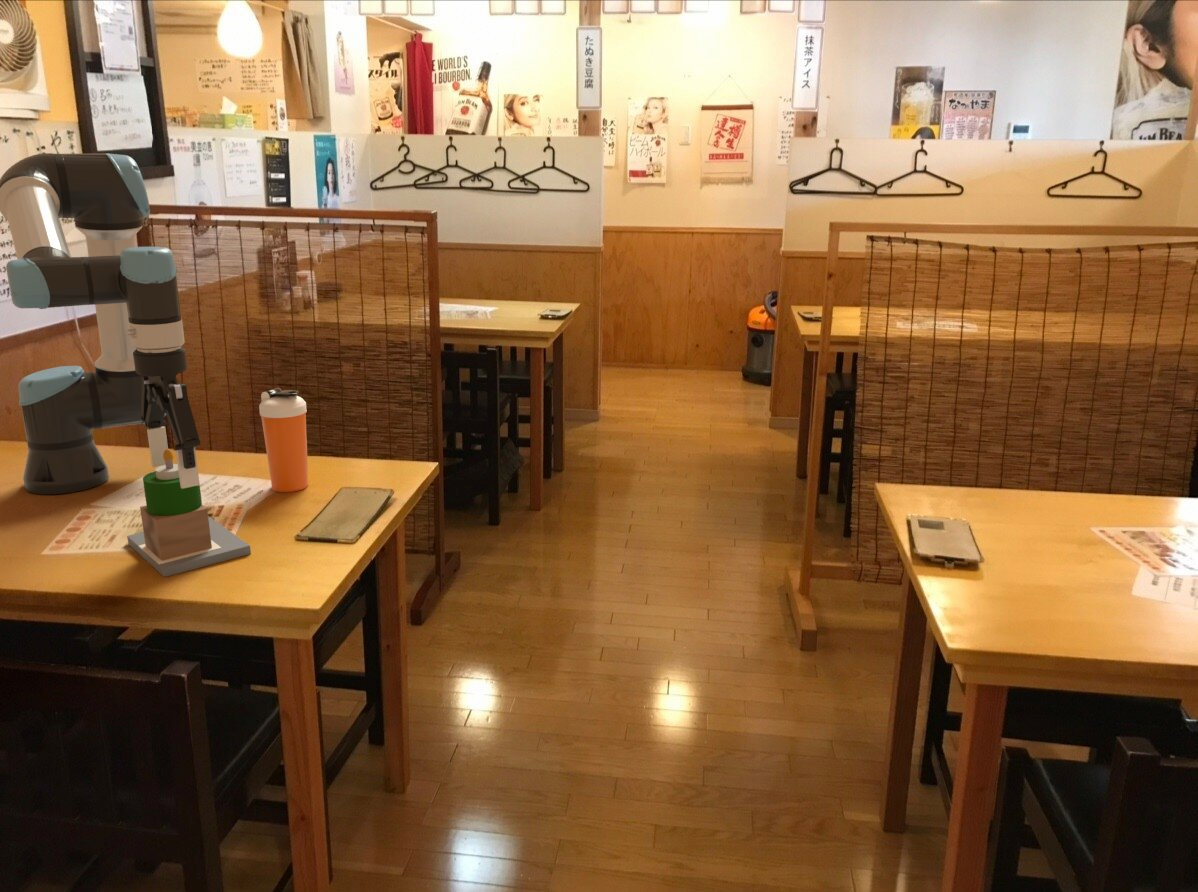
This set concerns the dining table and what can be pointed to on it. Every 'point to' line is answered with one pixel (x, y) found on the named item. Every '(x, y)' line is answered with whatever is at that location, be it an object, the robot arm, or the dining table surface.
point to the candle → (169, 491)
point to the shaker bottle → (285, 438)
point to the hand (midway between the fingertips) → (175, 475)
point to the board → (222, 550)
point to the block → (176, 533)
